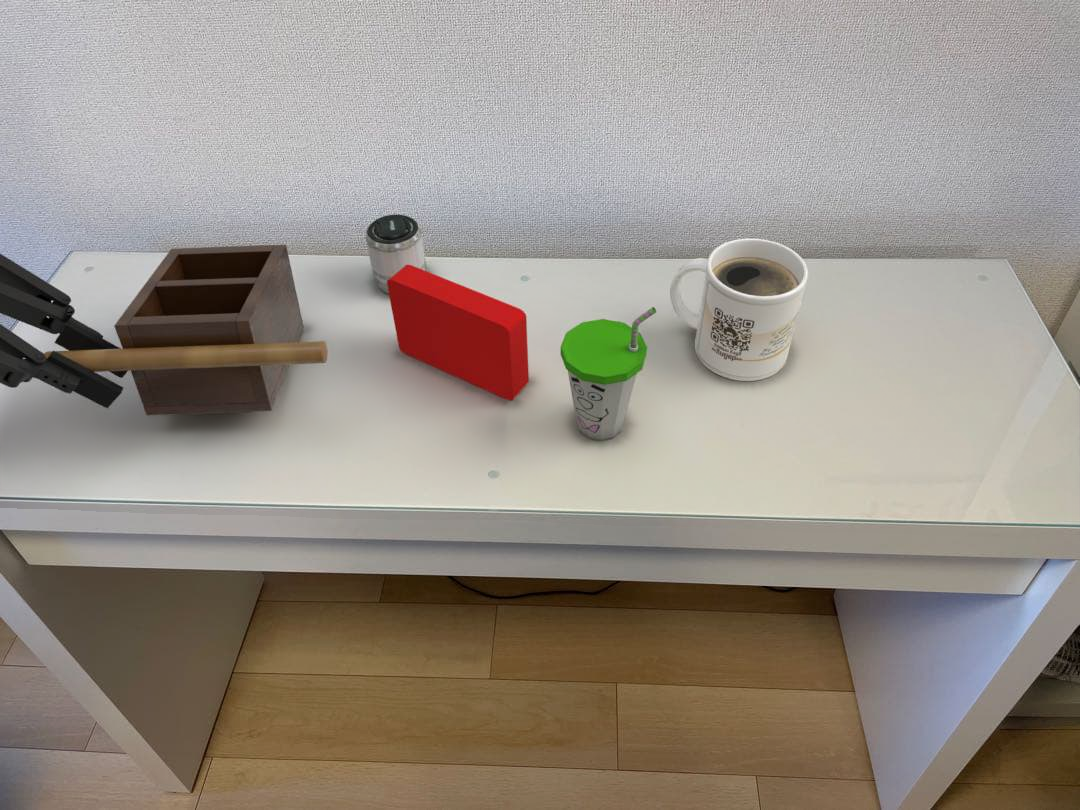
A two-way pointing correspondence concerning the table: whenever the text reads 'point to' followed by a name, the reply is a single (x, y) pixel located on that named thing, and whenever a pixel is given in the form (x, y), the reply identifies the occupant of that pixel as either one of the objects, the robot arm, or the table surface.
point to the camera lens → (394, 247)
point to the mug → (745, 307)
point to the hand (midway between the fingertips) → (122, 382)
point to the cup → (603, 372)
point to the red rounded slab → (460, 331)
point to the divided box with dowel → (210, 332)
